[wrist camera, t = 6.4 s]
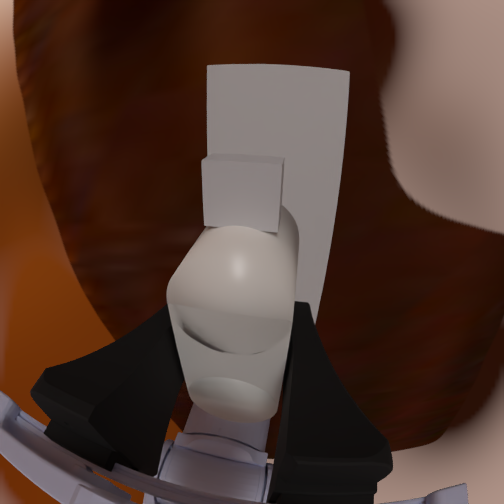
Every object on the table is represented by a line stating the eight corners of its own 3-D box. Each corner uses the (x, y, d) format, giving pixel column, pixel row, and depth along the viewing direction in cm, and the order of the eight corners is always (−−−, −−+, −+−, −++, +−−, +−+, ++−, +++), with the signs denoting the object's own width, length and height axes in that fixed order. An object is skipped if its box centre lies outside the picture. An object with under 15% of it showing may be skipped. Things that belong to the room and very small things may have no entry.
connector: (284, 354, 15) (273, 427, 11) (218, 345, 16) (194, 413, 12) (308, 149, 10) (309, 186, 6) (208, 143, 10) (149, 177, 6)
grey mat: (311, 336, 24) (311, 341, 23) (218, 324, 25) (216, 328, 24) (348, 72, 14) (349, 71, 13) (210, 66, 15) (207, 65, 14)
